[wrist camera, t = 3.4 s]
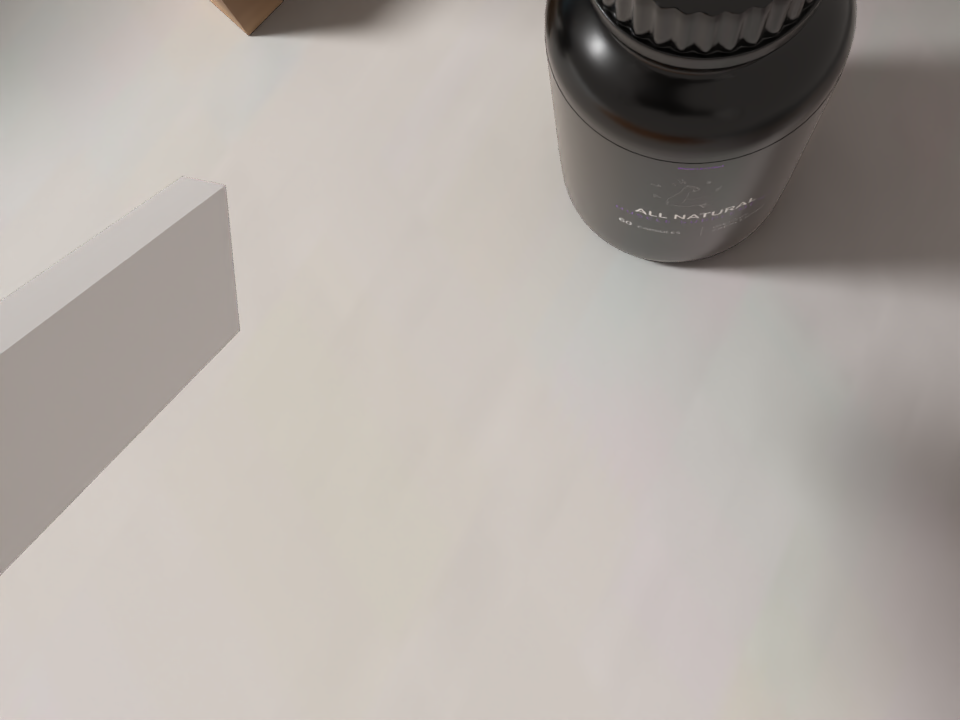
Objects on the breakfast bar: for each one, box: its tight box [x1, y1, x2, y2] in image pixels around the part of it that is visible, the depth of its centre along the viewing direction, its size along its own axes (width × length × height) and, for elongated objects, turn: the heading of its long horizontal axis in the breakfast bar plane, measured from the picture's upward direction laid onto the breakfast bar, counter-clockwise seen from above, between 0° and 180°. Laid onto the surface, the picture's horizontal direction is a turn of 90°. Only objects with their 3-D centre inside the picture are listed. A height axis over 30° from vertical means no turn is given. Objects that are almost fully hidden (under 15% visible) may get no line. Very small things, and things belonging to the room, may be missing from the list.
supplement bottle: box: [545, 0, 857, 262], centre depth 22 cm, size 7×7×12 cm
